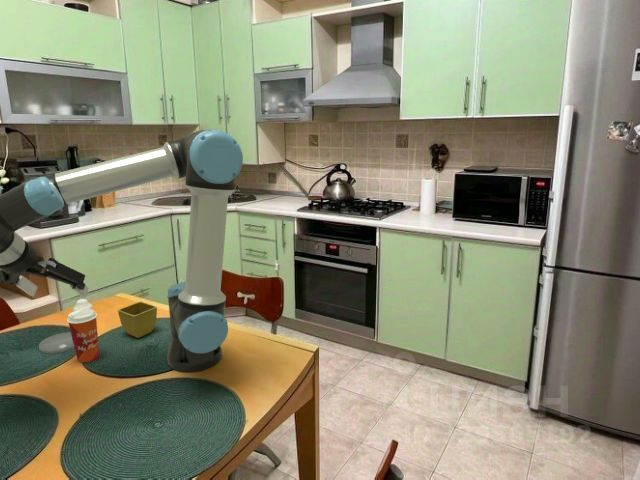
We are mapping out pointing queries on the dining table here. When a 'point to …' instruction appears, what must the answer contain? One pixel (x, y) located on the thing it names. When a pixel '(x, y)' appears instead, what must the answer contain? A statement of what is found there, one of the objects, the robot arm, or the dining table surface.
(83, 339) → the paper cup
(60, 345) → the coaster
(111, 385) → the dining table surface
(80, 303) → the muffin
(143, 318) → the flower pot
